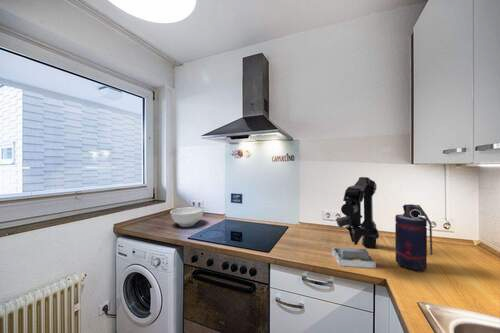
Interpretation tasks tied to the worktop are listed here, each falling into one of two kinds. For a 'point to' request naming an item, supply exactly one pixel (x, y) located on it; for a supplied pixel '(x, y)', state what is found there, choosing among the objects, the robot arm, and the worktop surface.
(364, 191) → the robot arm
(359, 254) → the panel
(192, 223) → the decorative bowl
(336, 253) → the rack
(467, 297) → the worktop surface
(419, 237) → the grenade
